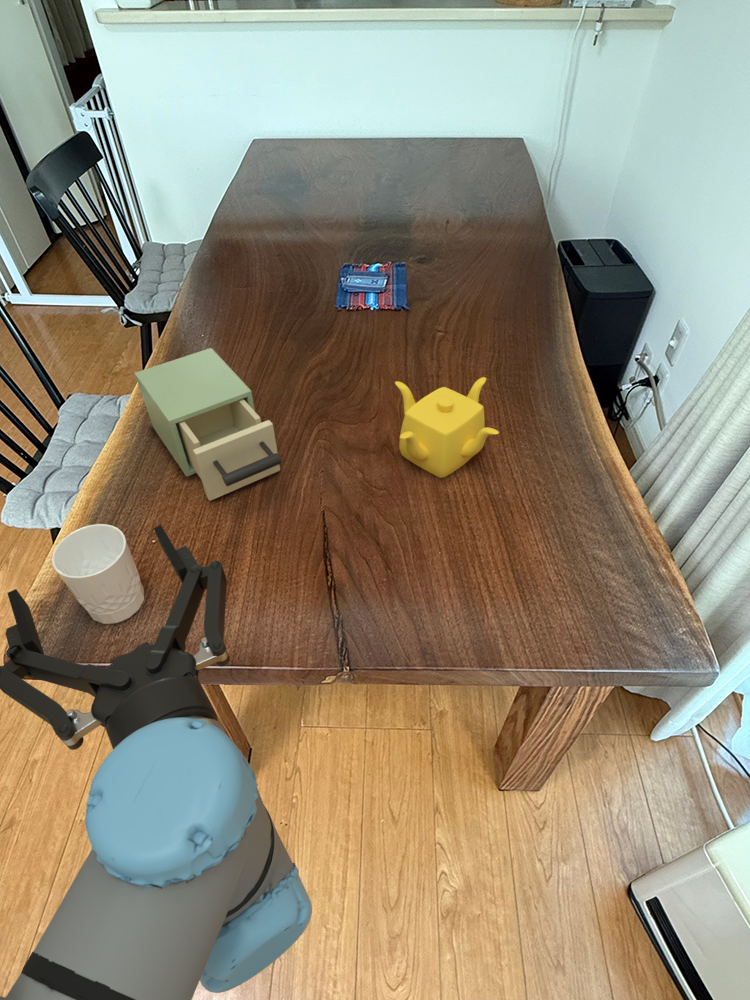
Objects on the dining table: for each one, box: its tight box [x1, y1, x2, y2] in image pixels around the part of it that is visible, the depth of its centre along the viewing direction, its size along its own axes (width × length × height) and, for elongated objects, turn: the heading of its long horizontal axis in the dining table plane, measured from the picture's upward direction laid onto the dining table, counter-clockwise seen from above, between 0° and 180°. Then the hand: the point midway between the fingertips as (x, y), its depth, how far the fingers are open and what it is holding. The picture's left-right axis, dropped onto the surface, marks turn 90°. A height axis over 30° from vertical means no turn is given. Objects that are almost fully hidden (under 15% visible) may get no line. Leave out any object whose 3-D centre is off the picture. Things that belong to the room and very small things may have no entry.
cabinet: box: [134, 347, 256, 478], centre depth 93 cm, size 15×13×11 cm
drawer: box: [175, 399, 282, 502], centre depth 87 cm, size 18×11×9 cm, turn 34°
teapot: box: [394, 376, 500, 479], centre depth 90 cm, size 15×14×10 cm
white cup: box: [51, 523, 145, 625], centre depth 70 cm, size 8×8×10 cm
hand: (92, 565), depth 57 cm, fingers open, 13 cm apart
